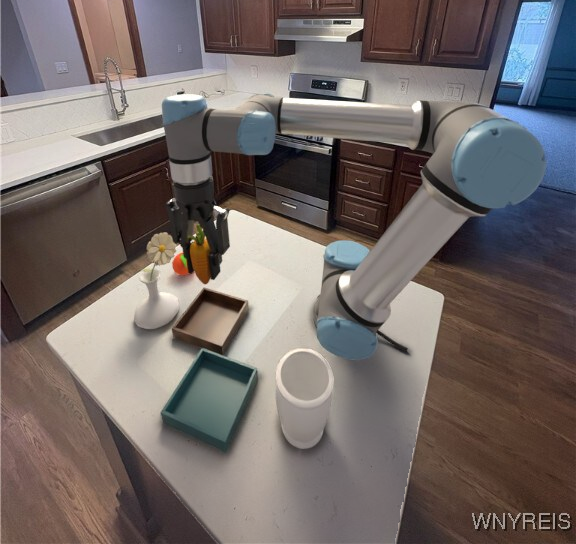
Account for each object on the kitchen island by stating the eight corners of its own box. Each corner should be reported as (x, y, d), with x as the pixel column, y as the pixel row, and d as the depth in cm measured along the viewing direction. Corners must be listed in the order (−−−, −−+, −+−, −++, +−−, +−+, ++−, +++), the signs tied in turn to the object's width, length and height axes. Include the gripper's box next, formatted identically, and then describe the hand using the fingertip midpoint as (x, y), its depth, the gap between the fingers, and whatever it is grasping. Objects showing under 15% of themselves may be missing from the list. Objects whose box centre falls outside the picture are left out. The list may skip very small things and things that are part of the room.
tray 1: (248, 309, 87) (248, 300, 85) (222, 356, 74) (221, 346, 73) (204, 296, 91) (203, 287, 90) (173, 337, 79) (171, 328, 77)
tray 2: (258, 377, 70) (257, 367, 68) (226, 452, 57) (225, 442, 56) (203, 357, 74) (201, 347, 73) (162, 423, 62) (160, 412, 60)
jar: (265, 422, 62) (263, 373, 56) (300, 384, 69) (302, 336, 63) (304, 472, 55) (307, 422, 49) (339, 424, 62) (346, 375, 56)
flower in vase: (142, 341, 78) (123, 262, 68) (130, 312, 86) (111, 237, 76) (192, 314, 85) (181, 238, 75) (176, 289, 93) (164, 218, 84)
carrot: (211, 294, 67) (205, 236, 61) (190, 290, 68) (181, 233, 62) (220, 277, 72) (215, 222, 66) (200, 274, 72) (193, 220, 67)
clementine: (199, 277, 98) (197, 259, 95) (177, 285, 95) (173, 267, 92) (193, 262, 104) (191, 244, 101) (171, 269, 101) (168, 251, 98)
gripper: (244, 175, 60) (249, 270, 69) (166, 163, 65) (180, 253, 74) (225, 193, 54) (233, 295, 63) (140, 178, 59) (159, 274, 68)
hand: (204, 272), depth 69 cm, fingers closed on carrot, 5 cm apart
